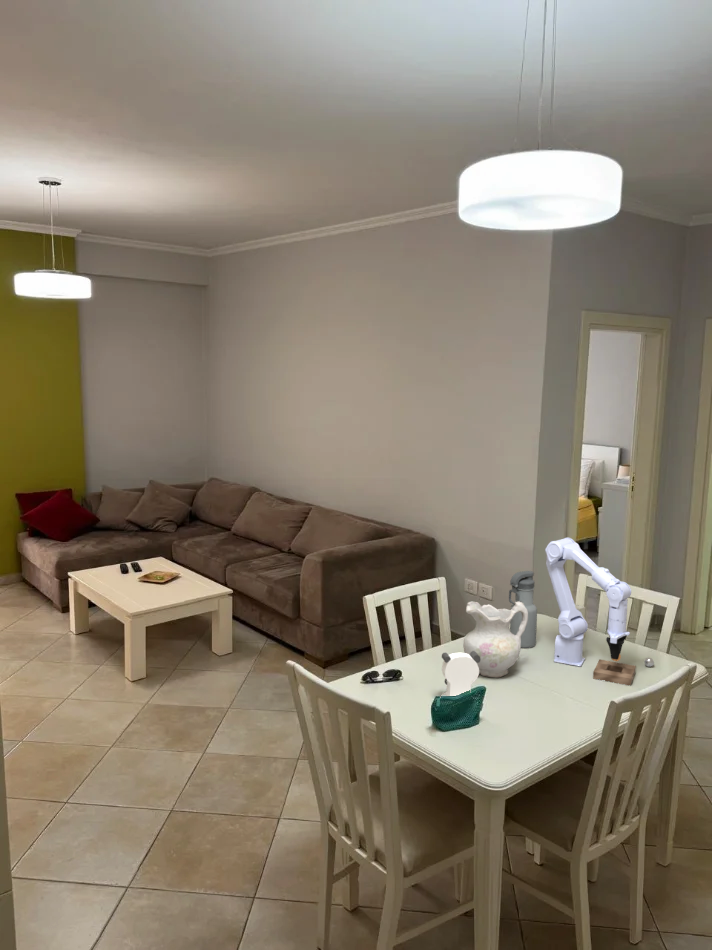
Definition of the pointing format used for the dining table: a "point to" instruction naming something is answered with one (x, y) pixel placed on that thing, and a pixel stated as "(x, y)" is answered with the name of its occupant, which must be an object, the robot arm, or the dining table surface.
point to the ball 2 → (649, 662)
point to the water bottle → (525, 594)
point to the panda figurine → (460, 671)
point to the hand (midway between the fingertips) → (615, 656)
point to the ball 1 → (618, 658)
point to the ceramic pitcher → (494, 637)
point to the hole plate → (614, 672)
